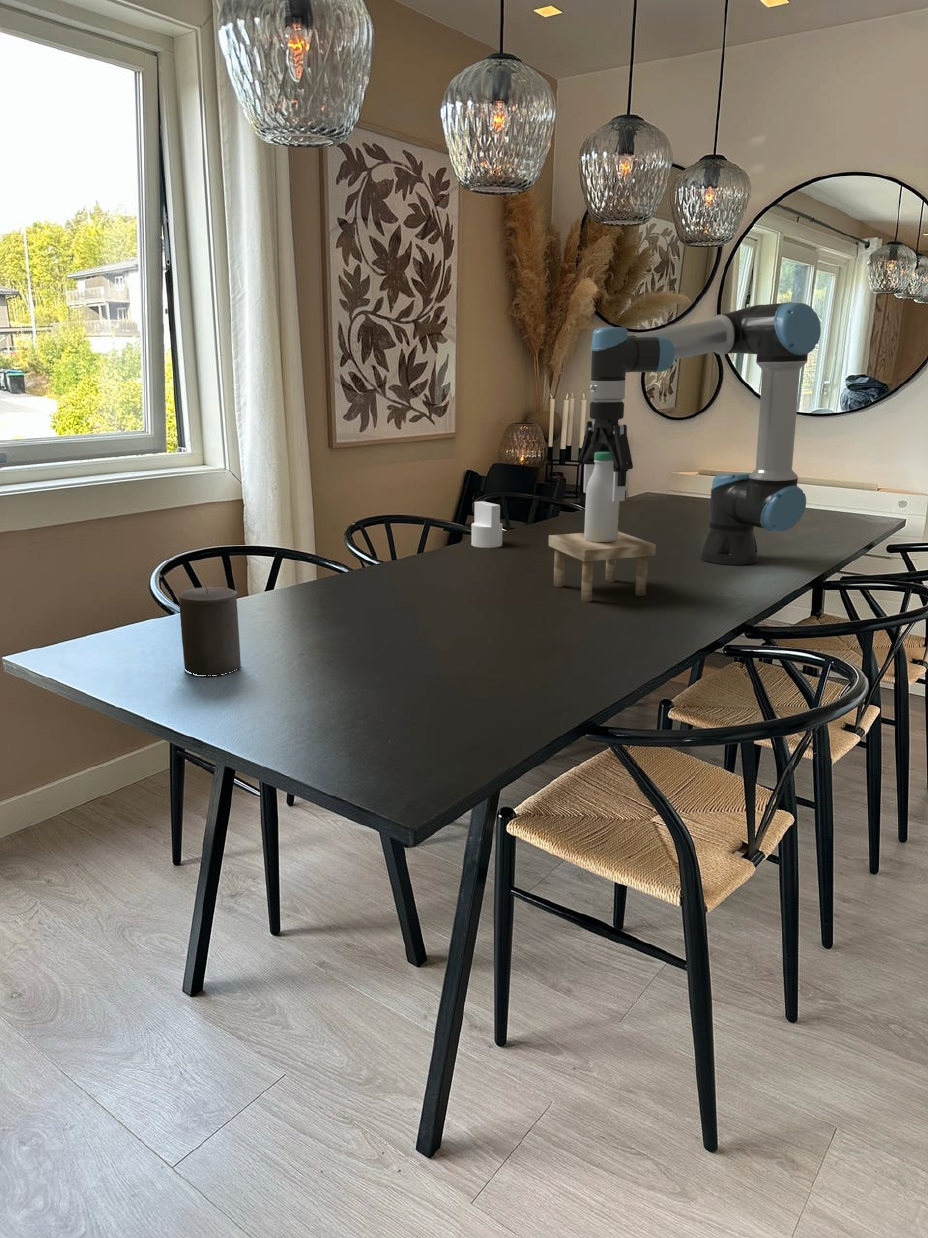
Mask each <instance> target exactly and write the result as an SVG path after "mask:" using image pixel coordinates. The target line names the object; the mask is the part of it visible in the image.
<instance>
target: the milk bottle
mask: <svg viewBox="0 0 928 1238" xmlns="http://www.w3.org/2000/svg"><path fill="white" fill-rule="evenodd" d="M594 462H595V463H594V464H595V467H594V471H593V473H592V475H591V477H590V479H589V482H588V485H587V490H586V493H585V508H584V511H585V512H584V532H583V533H584V537H585V539H586V540H588V541H593V542H613V541H616V540H617V539H618V531H619V525H620V523H619V521H620V504H621V503H620V502H621V501H612V498H613V474H614V471H613V470H614V469H615V466H614V463H613V460H612V457H611V454H610V451H599V452H595V454H594Z"/></svg>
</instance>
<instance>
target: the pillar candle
mask: <svg viewBox="0 0 928 1238" xmlns="http://www.w3.org/2000/svg"><path fill="white" fill-rule="evenodd" d="M237 594H238V592H237V590H234V589H231V588H228V587H219V586H218V587H217V586H215V587H214V586H207V585H205V586H204V587H194V588H191V589H185V590H183V591H181V592H180V593H179V596H178V600H179V601H178V602H179V617H180V618H179V619H180V629H181V643H182V651H183V652H182V653H183V665H184V670H185V669H186V670H187V671H189V672H191V673H192V674H193V673H194V674H197V675H206V676H208V675H211V676H212V675H221V674H225V673H229V672H232V671H234V670H236V669H238V668H239V667H240V665H242V662H241V648H240V633H239V631H240V630H239V629H240V628H239V615H238V613H239V612H238V600H237V599H238V598H237V597H238V596H237ZM240 668H241V667H240ZM240 668H239V669H240ZM239 669H238V670H239Z"/></svg>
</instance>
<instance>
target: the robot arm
mask: <svg viewBox="0 0 928 1238" xmlns="http://www.w3.org/2000/svg"><path fill="white" fill-rule="evenodd" d="M821 327H822V326H821V321H820V318H819V316H818V314H817V312H815V310H814V308H813V307H812V306H810V305H808V304H806V303H804V302H792V301H789V302H780V303H771V304H770V303H769V304H755V305H752V306H747V307H744V308H741V309H738V310H734V311H729V312H725V313H721V314H717V315H715V316H713V318H712V319H711V320H705V321H701V322H695V323H690V324H684V325H678V326H673V327H668V328H662V329H657V330H649V331H645V332H640V333H634V334H628V329H627V328H626V327H616V326H615V327H614V326H612V327H607V326H606V327H597V328H595V329H594V330H593V332H592V339H591V348H590V350H591V351H590V359H591V365H590V366H591V367H590V368H591V369H590V371H591V372H590V386H589V390H590V399H591V400H593V401H590V403H589V418H590V419H592V420H587V422H586V427H585V428H586V429H585V434H584V436H583V440H582V446H581V448H580V452H579V456H578V459H579V461H581V462H582V464H583V465H584V466H583V493H585V494H586V490H587V485H588V482H589V479H590V477H591V475H592V473H593V471H594V467H595V462H594V454H595V452H601V449H602V446H603V445H605V446H606V447H607V448H608V450H609V451H608V452H610V454H611V457H612V460H613V466H614V470H613V471H614V474H613V498H612V501H620V502H624V501H626V487H627V486H626V484H627V472H628V471H630V470H633V468H634V464H633V459H632V454H631V450H630V444H629V440H628V439H629V438H628V431H627V429H628V426H627V425H626V424H619V420H622V419H624V417H625V416H624V415H625V403H624V401H623V400H624V399H626V398H625V397H626V376H627V373H655V374H656V373H659V372H660V373H661V372H666V371H668V370H669V369H671V367H672V365H673V363H674V361H675V360H680V359H685V358H690V357H695V356H696V357H697V356H701V355H706V354H711V353H715V354H717V355H720V356H721V355H726V354H727V355H728V354H746V355H747V354H749V355H756V359H755V361H756V362H755V363H756V364H757V365H758V366H759V368H760V369H761V387H760V400H759V415H758V427H757V429H758V430H757V444H756V459H755V460H756V461H755V469H754V470H753V471H752V472H748V473H747V472H743V473H740V472H739V473H726V474H725V473H723V474H718V475H715V476H714V477H713V479H712V482H711V483H712V486H711V488H710V500H709V501H710V503H709V505H710V506H709V520H708V531H707V532H706V535H705V537H704V540H703V542H702V546H701V547H700V550H699V558H700V559H701V560H703V561H705V562H709V563H712V564H713V563H715V564H720V565H730V566H731V565H733V566H734V565H738V566H739V565H750V564H754V563H757V562H758V561H759V549H758V546H757V541H756V537H755V533H754V531H755V530H754V529H755V528H760V529H764V530H765V531H768V532H771V531H773V532H774V531H775V532H785V531H788V530H790V529H792V528H794V527H795V526H796V525H797V523H798V522H799V521H801V519H802V517H803V516H804V513H805V510H806V506H807V496H806V494H805V493H804V491H803V489H802V488H800V487H799V486H798V481H799V480H798V479H799V476H798V475H797V473H796V472H794V470H793V461H794V460H793V459H794V451H795V450H794V449H795V448H794V447H795V438H796V437H795V435H796V426H797V425H796V423H797V411H798V398H799V386H800V371H801V369H802V367H803V366H805V365H806V363H808V357H809V353H812V351H814V350H815V348H816V345H818V343H819V341H820V338H821V333H822V331H821V330H822V329H821Z"/></svg>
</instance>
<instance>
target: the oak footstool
mask: <svg viewBox="0 0 928 1238" xmlns="http://www.w3.org/2000/svg"><path fill="white" fill-rule="evenodd" d="M548 547H550V548H552V549H554V555H553V556H554V557H553V559H554V562H553V564H554V565H553V586H554V587H556V588H561V587H562V588H563V587H564V585H565V584H564V583H565V561H566V560H565V559H566V558H565V556H566V555H568V556H571V557H573V558H575V559H578V560H580V561H582V567H581V571H582V572H581V591H580V595H581V596H580V601H581V602H585V603H586V602H589V603H590V602H592V601H593V581H594V580H593V578H594V562H597V561H605V575H604V577H605V578H604V581H605V582H608V583H613V582H616V575H617V574H616V573H617V572H616V571H617V560H619V559H620V560H621V559H627V558H628V559H629V558H636V575H635V592H634V595H635V596H638V597H644V595H645V596H646V594H647V581H648V580H647V579H648V564H649V563H648V561H649V557H652V556H656V549H657V548H656V543H652V542H649V541H647V540H644V539H642V538H638V537H636V536H632V535H629V534H627V533H624V532H622V531H619V530H618V539H617V540H616V541H613V542H593V541H588V540H586V539H585V537H584V532H577V533H576V532H574V533H563V534H562V533H561V534H550V535H548ZM565 554H566V555H565Z"/></svg>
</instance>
